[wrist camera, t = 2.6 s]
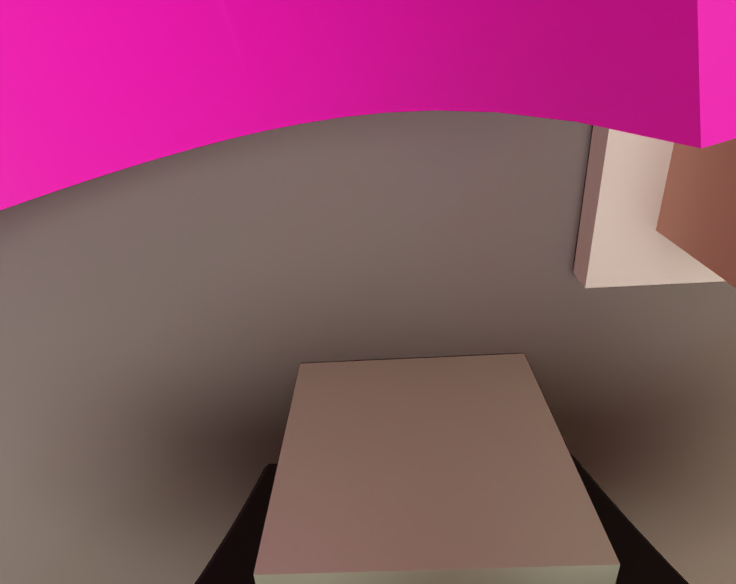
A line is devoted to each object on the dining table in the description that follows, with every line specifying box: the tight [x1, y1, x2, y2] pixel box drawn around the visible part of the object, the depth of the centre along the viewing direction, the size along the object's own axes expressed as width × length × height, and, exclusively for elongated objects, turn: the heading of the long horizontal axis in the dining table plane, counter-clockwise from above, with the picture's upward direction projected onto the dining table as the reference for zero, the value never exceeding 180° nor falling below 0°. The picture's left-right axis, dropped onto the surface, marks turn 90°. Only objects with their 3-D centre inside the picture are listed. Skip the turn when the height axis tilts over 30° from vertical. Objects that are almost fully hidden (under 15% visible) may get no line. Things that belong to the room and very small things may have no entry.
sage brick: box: [253, 353, 620, 584], centre depth 9 cm, size 4×4×4 cm
